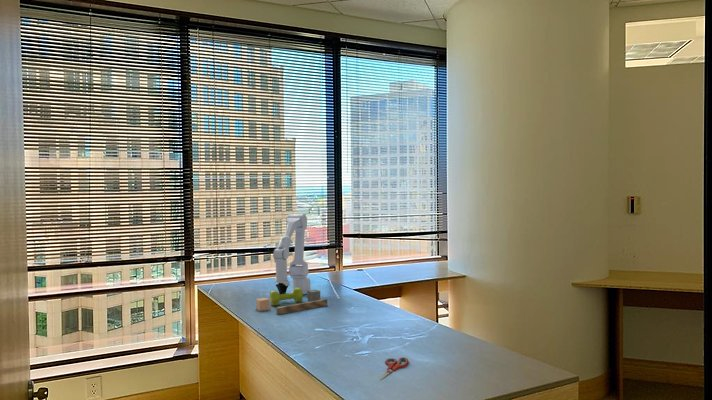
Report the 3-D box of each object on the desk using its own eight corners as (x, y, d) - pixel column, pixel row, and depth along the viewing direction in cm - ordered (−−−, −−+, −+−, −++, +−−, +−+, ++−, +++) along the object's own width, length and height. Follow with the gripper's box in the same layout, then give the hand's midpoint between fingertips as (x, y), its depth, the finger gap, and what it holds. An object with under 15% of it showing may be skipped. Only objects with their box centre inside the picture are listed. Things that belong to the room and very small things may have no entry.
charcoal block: (316, 298, 259) (315, 289, 258) (320, 300, 254) (320, 290, 254) (307, 300, 256) (307, 290, 256) (312, 302, 252) (311, 292, 251)
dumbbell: (299, 299, 258) (299, 286, 257) (304, 302, 250) (303, 288, 250) (268, 304, 251) (268, 290, 251) (272, 307, 244) (272, 292, 243)
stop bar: (325, 304, 244) (325, 298, 244) (327, 305, 242) (327, 299, 242) (276, 313, 230) (276, 307, 230) (278, 314, 228) (278, 308, 228)
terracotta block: (265, 307, 243) (265, 297, 243) (269, 309, 239) (269, 299, 239) (256, 309, 241) (255, 299, 241) (260, 311, 236) (259, 300, 236)
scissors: (372, 385, 144) (372, 380, 143) (386, 360, 164) (386, 356, 164) (398, 387, 142) (398, 382, 141) (409, 361, 162) (409, 357, 162)
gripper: (268, 270, 259) (270, 296, 259) (280, 274, 247) (281, 301, 247) (281, 269, 263) (282, 294, 263) (293, 272, 250) (294, 299, 251)
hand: (282, 297), depth 255 cm, fingers closed
